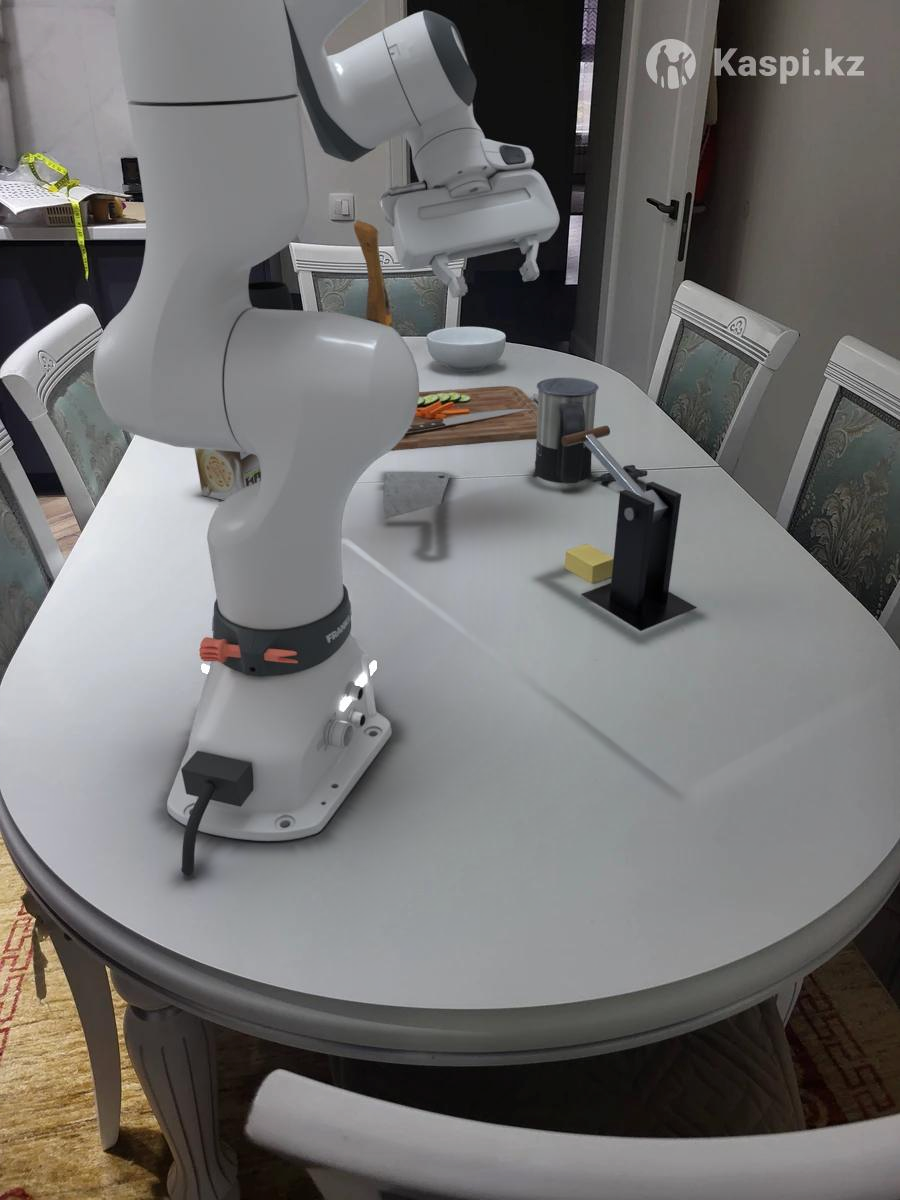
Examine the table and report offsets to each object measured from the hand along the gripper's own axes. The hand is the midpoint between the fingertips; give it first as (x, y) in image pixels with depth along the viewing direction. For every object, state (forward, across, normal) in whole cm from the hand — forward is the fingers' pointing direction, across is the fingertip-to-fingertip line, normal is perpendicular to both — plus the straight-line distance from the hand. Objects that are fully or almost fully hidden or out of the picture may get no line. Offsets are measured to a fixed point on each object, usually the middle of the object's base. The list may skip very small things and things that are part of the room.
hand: (496, 286), depth 103 cm
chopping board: (-1, +10, +60) cm, 61 cm away
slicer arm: (+26, +4, -3) cm, 27 cm away
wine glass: (-22, -10, +86) cm, 89 cm away
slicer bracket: (+41, +4, 0) cm, 41 cm away
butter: (+35, +2, +7) cm, 36 cm away
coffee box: (+6, -30, +43) cm, 53 cm away
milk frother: (+22, +20, +30) cm, 42 cm away
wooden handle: (-28, +18, +101) cm, 106 cm away
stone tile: (+18, -9, +30) cm, 36 cm away
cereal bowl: (-16, +31, +85) cm, 92 cm away
